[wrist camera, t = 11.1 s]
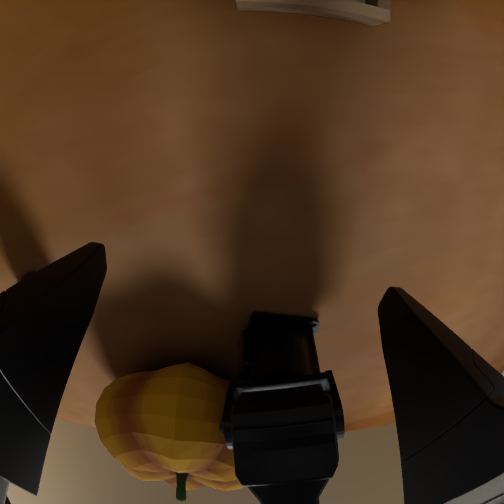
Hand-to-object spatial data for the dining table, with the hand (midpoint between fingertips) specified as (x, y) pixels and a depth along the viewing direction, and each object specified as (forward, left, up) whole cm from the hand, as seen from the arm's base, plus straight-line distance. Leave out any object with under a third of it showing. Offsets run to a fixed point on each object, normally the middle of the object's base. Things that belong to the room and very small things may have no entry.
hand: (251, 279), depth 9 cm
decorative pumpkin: (+2, +30, -13) cm, 33 cm away
